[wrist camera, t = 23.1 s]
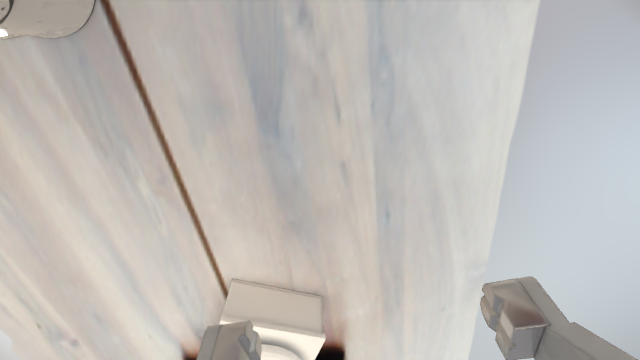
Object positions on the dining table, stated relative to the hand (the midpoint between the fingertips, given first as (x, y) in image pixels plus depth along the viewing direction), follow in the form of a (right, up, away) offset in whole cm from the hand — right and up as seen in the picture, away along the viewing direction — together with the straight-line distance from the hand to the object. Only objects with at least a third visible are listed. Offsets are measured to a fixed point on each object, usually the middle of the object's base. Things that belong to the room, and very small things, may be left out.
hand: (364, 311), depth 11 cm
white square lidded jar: (-12, -23, +51) cm, 57 cm away
